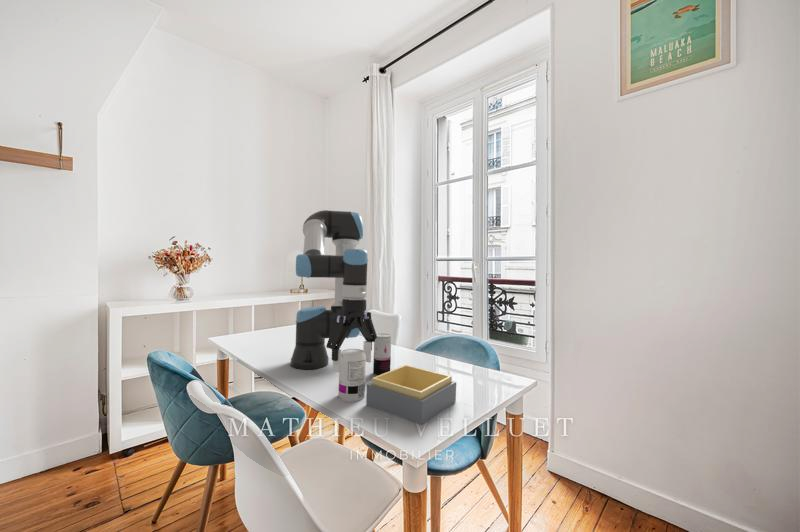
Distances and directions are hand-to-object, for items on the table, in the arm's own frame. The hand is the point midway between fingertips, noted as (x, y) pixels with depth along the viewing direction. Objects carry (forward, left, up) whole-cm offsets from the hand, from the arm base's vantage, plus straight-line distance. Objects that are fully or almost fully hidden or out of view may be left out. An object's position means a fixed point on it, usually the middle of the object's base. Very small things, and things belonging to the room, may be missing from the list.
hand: (352, 366), depth 111 cm
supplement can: (0, 0, -11) cm, 11 cm away
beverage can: (-8, +25, -11) cm, 29 cm away
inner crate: (+17, +8, -10) cm, 21 cm away
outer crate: (+17, +8, -11) cm, 22 cm away
